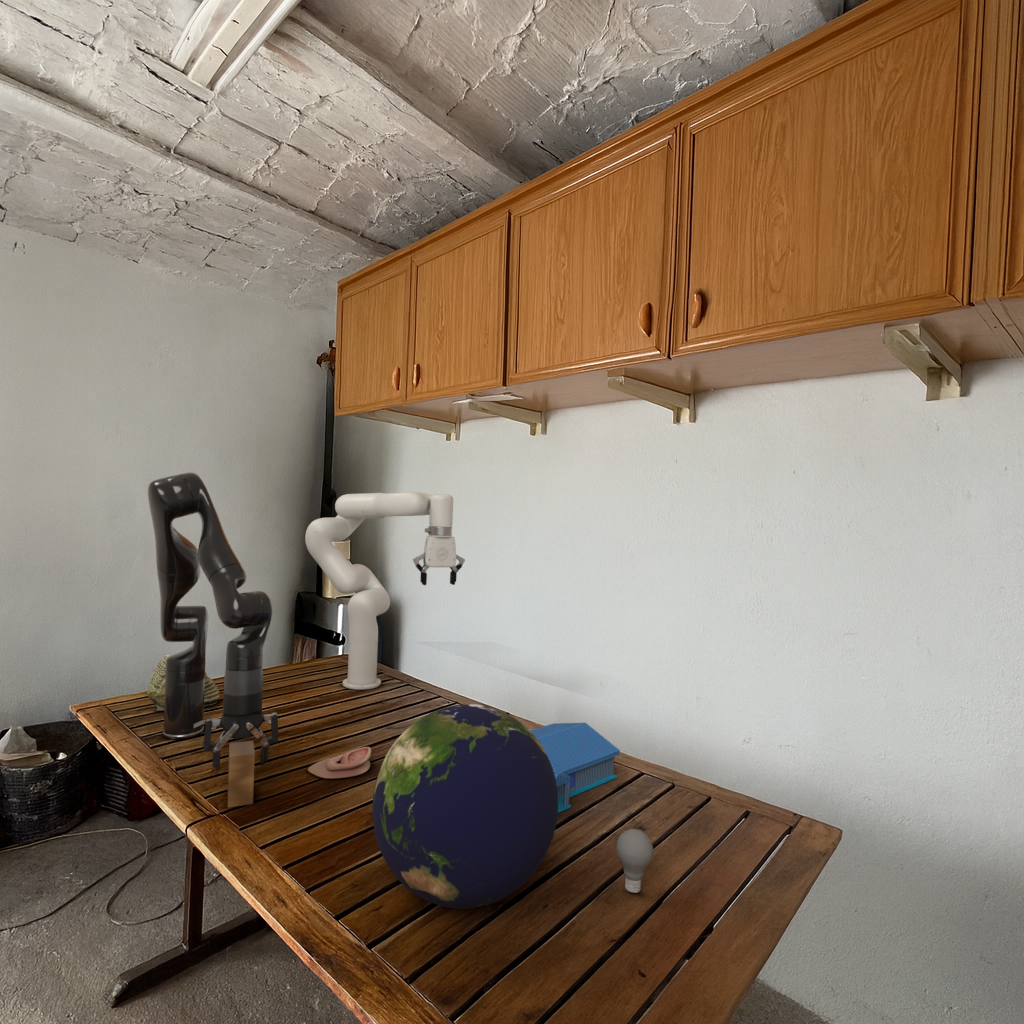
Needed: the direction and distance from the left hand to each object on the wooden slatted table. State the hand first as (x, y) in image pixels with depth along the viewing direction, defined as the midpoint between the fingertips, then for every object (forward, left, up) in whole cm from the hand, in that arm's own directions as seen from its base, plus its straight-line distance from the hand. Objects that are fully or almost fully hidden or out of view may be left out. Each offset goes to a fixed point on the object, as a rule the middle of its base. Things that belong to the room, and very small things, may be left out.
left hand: (240, 766), depth 132 cm
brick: (0, 0, -7) cm, 7 cm away
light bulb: (+72, +38, -7) cm, 82 cm away
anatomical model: (0, +23, -7) cm, 24 cm away
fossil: (-66, +8, -7) cm, 67 cm away
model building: (+34, +52, -7) cm, 62 cm away
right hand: (-34, +75, +29) cm, 87 cm away
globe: (+54, +16, -7) cm, 57 cm away
